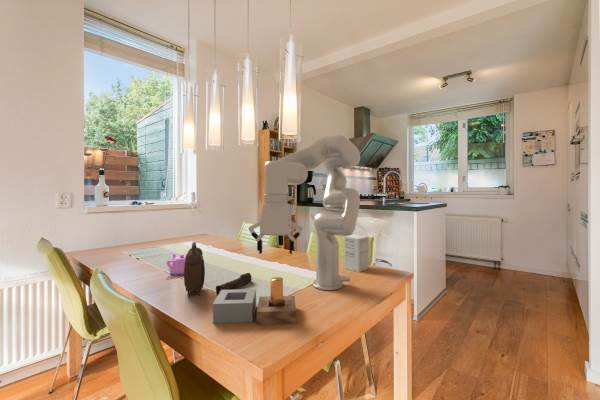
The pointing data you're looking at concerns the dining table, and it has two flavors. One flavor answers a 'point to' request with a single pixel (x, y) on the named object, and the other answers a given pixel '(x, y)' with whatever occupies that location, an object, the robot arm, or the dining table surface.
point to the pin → (276, 292)
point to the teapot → (177, 264)
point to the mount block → (276, 311)
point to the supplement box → (356, 252)
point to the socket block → (234, 306)
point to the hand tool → (235, 283)
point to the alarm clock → (194, 269)
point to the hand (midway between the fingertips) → (275, 252)
